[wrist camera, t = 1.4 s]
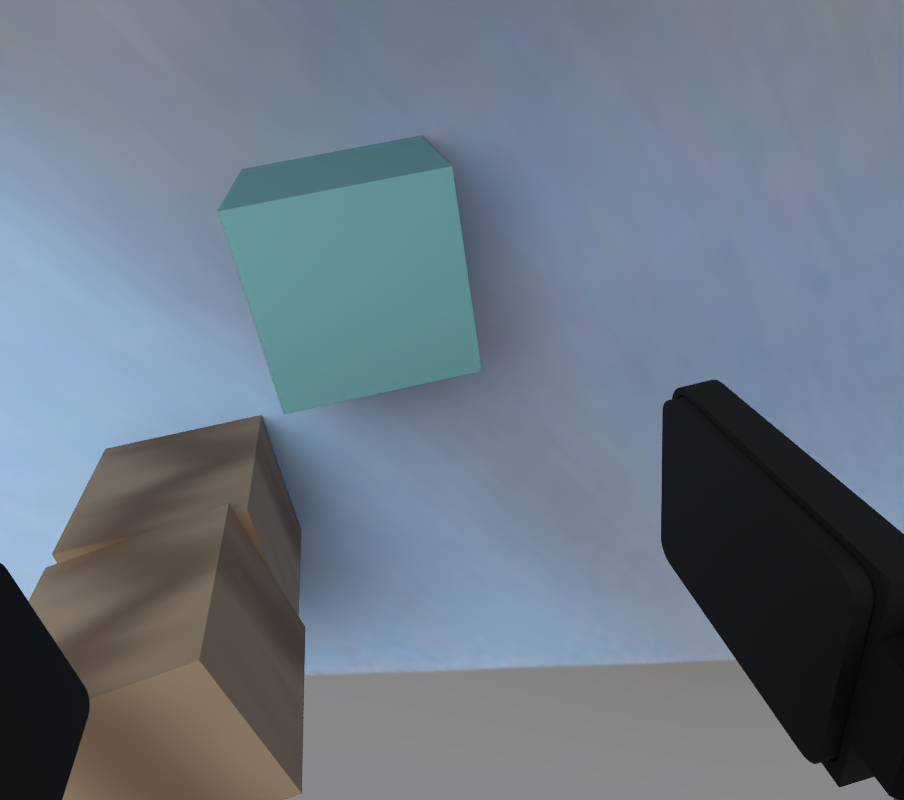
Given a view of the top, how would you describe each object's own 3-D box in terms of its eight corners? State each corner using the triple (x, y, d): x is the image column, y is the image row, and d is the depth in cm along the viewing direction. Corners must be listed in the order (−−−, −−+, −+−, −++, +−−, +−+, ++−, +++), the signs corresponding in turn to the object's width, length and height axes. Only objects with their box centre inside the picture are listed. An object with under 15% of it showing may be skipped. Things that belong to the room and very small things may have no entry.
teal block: (421, 135, 22) (452, 166, 17) (448, 302, 25) (481, 371, 20) (241, 168, 22) (217, 211, 17) (291, 334, 25) (284, 414, 20)
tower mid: (228, 503, 21) (199, 660, 15) (305, 627, 24) (302, 793, 19) (45, 567, 21) (-46, 747, 15) (145, 684, 24) (97, 865, 18)
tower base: (261, 415, 26) (246, 509, 21) (301, 530, 29) (297, 638, 24) (105, 448, 26) (52, 554, 20) (162, 563, 29) (128, 680, 23)
